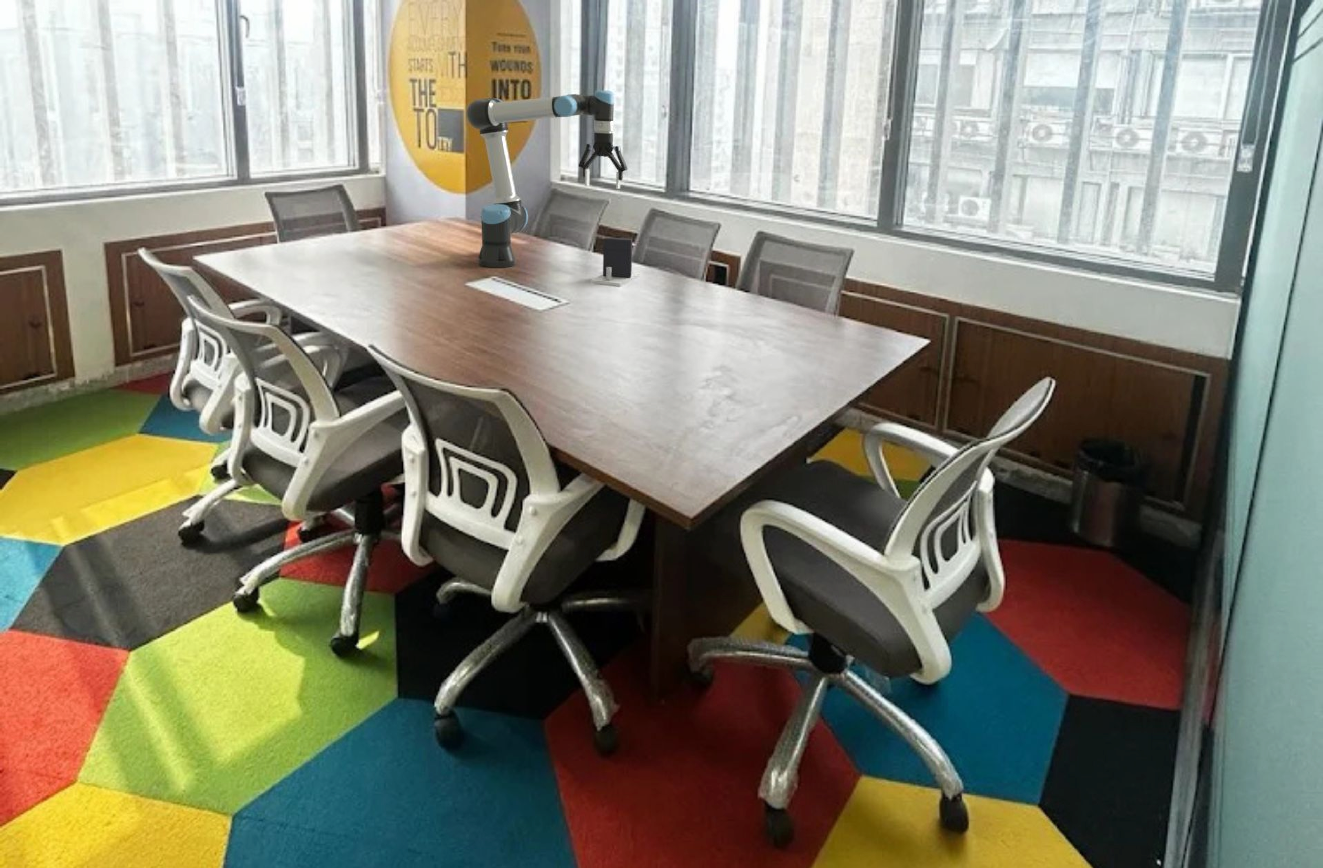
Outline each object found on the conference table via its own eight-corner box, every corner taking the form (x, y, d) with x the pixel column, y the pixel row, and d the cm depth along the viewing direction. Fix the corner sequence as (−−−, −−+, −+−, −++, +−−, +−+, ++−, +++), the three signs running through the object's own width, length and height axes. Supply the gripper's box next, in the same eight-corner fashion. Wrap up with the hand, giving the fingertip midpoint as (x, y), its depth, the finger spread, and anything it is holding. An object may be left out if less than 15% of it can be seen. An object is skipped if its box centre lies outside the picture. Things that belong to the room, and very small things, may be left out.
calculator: (631, 276, 380) (632, 238, 375) (630, 278, 376) (631, 240, 371) (604, 274, 381) (605, 236, 376) (602, 276, 377) (603, 238, 372)
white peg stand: (591, 283, 372) (591, 267, 369) (613, 272, 391) (613, 257, 389) (619, 286, 368) (620, 270, 366) (640, 275, 387) (641, 260, 385)
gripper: (570, 130, 379) (570, 185, 387) (629, 134, 372) (627, 190, 379) (578, 129, 386) (578, 183, 394) (636, 133, 378) (634, 188, 386)
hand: (602, 187), depth 387 cm, fingers open, 13 cm apart
